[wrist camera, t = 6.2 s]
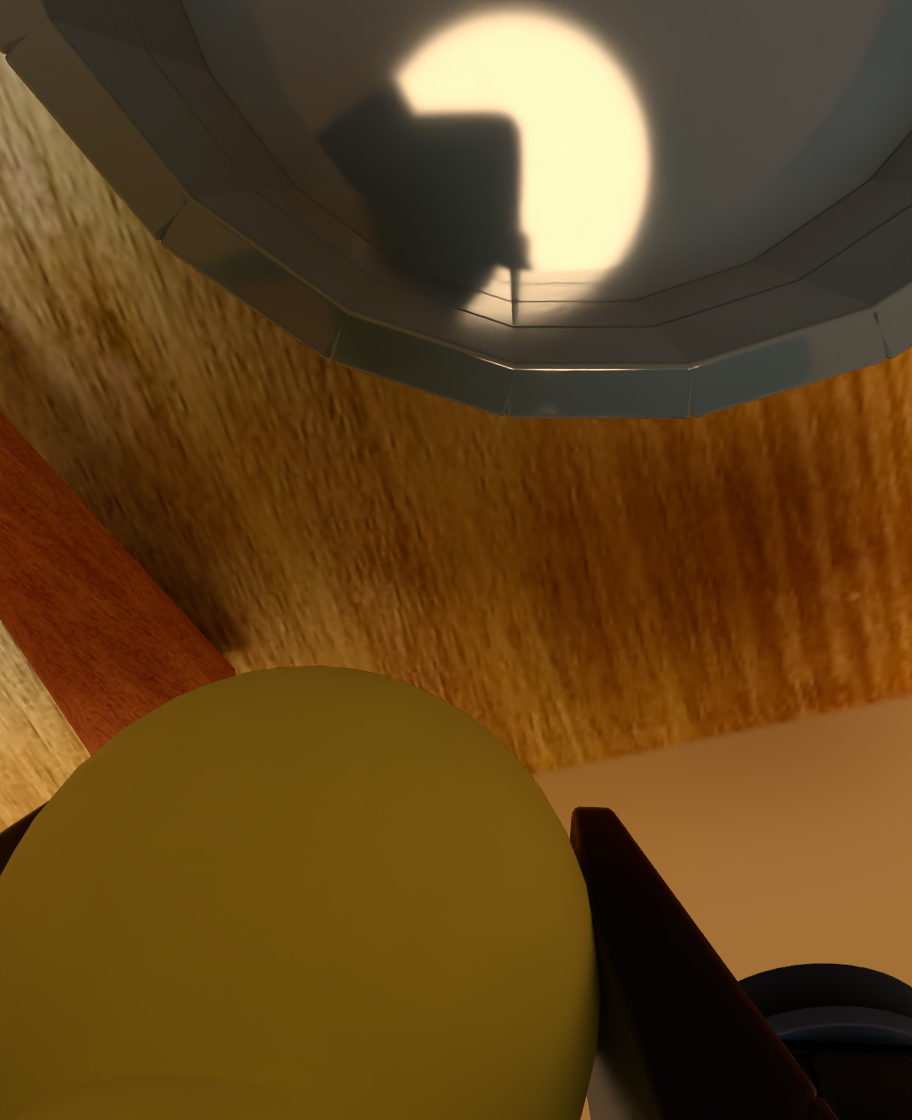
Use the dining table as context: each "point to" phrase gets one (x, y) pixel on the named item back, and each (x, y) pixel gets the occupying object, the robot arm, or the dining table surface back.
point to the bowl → (516, 182)
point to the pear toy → (297, 919)
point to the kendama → (88, 606)
